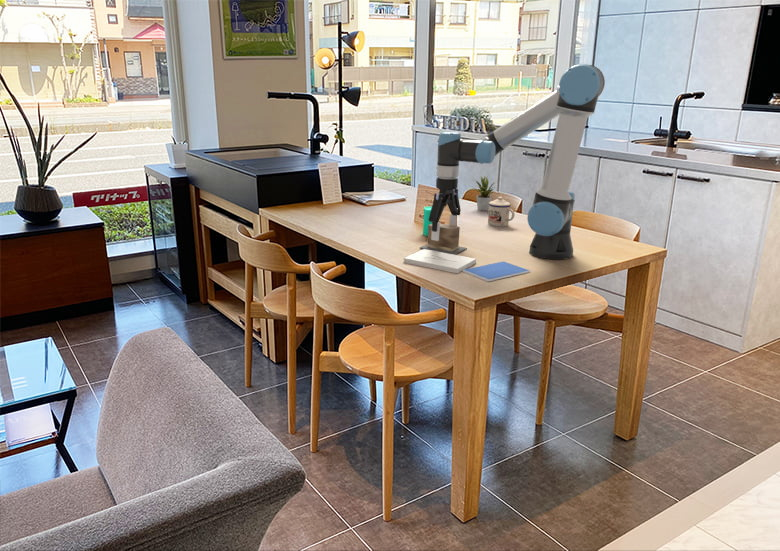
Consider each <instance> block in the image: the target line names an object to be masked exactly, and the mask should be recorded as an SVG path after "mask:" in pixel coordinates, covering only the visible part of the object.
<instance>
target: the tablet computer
mask: <svg viewBox="0 0 780 551" xmlns="http://www.w3.org/2000/svg"><path fill="white" fill-rule="evenodd" d="M462 272H463V274H466V275H469V276H471V277H475V278H477V279H480V280H482V281H485V282H493V281H498V280H502V279H507V278H511V277H516V276H520V275H526V274H529V273H531V270H529V269H526V268H523V267H521V266H520V265H519V266H518V265H515V264H513V263H509V262H506V261H499V262H494V263H489V264H484V265H480V266H475V267H470V268H469V267H468V268H466V269H464V270H463V271H462Z"/></svg>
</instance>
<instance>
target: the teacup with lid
mask: <svg viewBox="0 0 780 551" xmlns="http://www.w3.org/2000/svg"><path fill="white" fill-rule="evenodd" d="M510 213H511V217H510ZM487 216H488V217H487V224H488V225H490V226H493V227H506V226H508V225H509V223H510V221H512V220H514V218H515V211H514V210H513V209H512V208H511V203H510V202H508V201H507V200H505V199H504V198H503V197H502V196H498V197H497V198H496V199H494V200H491V202H489V210H488V215H487Z"/></svg>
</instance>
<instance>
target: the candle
mask: <svg viewBox="0 0 780 551" xmlns="http://www.w3.org/2000/svg"><path fill="white" fill-rule="evenodd" d="M431 208H432V206H431V205H430V206H423V221H422V222H423V223H422V235H423V236H425V237H428V225H430V224H432V222H430V221H429V216H430V212H431Z"/></svg>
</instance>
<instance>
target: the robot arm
mask: <svg viewBox="0 0 780 551" xmlns="http://www.w3.org/2000/svg"><path fill="white" fill-rule="evenodd" d="M605 82H606V81H605V76H604V74H603V72H602V71H601V70H600V68H599V67H596V66H595V65H591V64H588V63H578V64H575V65H572V66H571V67H569V68H568V69H566V70H565V71H564V73H563V74H562V76H561V77H560V79H559V83H558V85H557V87H556V90H555V91H553V92H552V93H550V94H548V95H546V96H545V97H543V98H542V99H541V100H539V101H538V102H535V103H534V104H533V105H532V106H530V107H528V108H527V109H525V110H524V111H522V112H521V113H519V114H517V115H516V116H515V117H513V118H511V119H510V120H508V121H507V122H505V123H504V124H502V125H501V126H499V127H498V128H495V130H493V131H491V132H490V133H488V134H487V135H485V136H483V138H479V139H478V138H477V139H467V138H466V139H463V138H462V134H461V133H460V132H456V131H443V132H440V133H439V134H438V142H437V143H438V144H437V164H436V176H437V177H436V180H435V181H436V182H435V183H436V184H435V188H436V189H438V190H439V193H437V192H436V193H434V194H433V195H434V196H433V201H432V204H431V207H432V208H431V212H430V216H429V221H430V222H432V234H431V240H435V241H439V231H440V224H441V222H440V219H441V217H442V214H443V211H444V209H445V208H446V207H447V206H448V209H449V212H450V214H449V222H448V223H449V224H448V225H452V226H457V225H458V216H460V215H461V210H462V209H461V203H460V198H459V189H458V185H459V184H458V183H459V178H458V177H459V172H460V171H459V167H460V166H459V165H460V162H467V163H474V164H475V163H476V164H477V163H478V164H481V165H482V164H492V163H494V162H493V161H494V159H495V157H496V156H498V154H500V153H501V152H503V151H504V150H505V149H507V148H509V147H510V146H512V145H514V144H515V143H517V142H519V141H520V140H522V139H523V138H525V137H526V136H528V135H530V134H531V133H533V132H535V131H536V130H538V129H539V128H541V127H543V126H544V125H546V124H548V123H549V122H551V121H552V120H554V119H555V118H557V117H558V119H557V124H556V127H555V131H554V135H553V136H554V137H553V140H552V143H551V148H550V152H549V156H548V160H547V165H546V169H545V172H544V177H543V180H542V185H541V187H539V188H537V189H536V191H535V194H534V198H533V203H532V205H531V207H530V208H529V210H528V212H527V217H526V219H527V223H528V226H529V228H530V229H531V231H533V232H534V236H533V239H532V241H531V242H530V243H531V244H530V245H529V254H531V255H532V256H533V257H534V256H535V257H537V258H541V259H546V260H568V259H570V258H572V257H573V256H574V247H573V242H572V238H571V229H572V222H573V221H572V220H573V213H574V211H573V210H574V204H575V193H574V192H572V191H570V186H571V183H572V179H573V175H574V171H575V167H576V163H577V159H578V157H579V151H580V148H581V144H582V140H583V137H584V132H585V129H586V125H587V122H588V118H589V117H590V116H592V115H594V114H595V110H596V107H597V103H598V99H599V97H600V95H601V94H603V93H602V92H603V91H604V88H605Z"/></svg>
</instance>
